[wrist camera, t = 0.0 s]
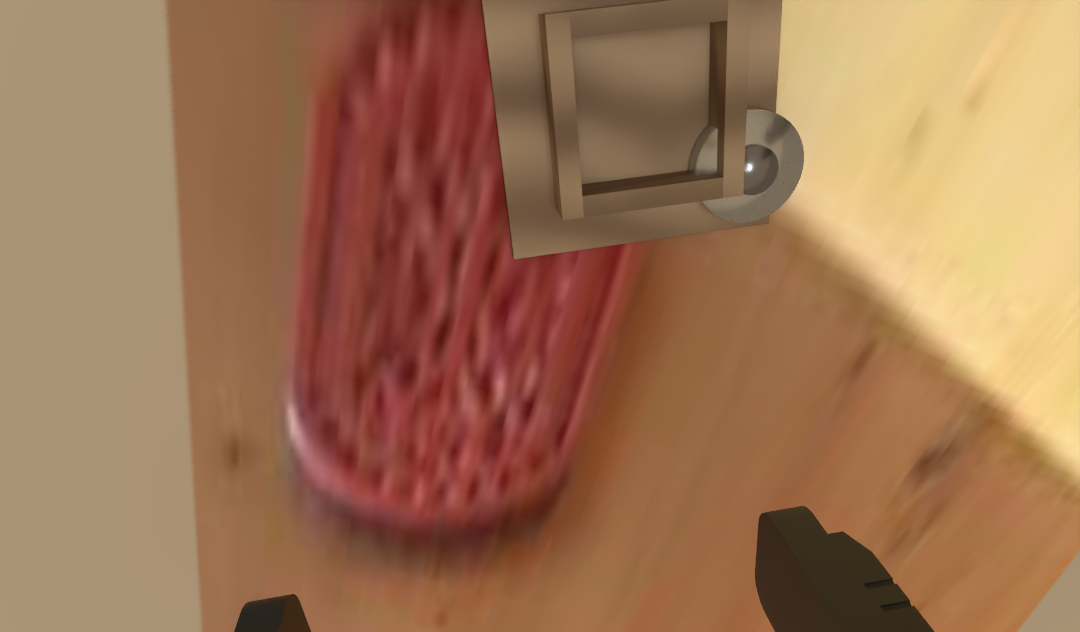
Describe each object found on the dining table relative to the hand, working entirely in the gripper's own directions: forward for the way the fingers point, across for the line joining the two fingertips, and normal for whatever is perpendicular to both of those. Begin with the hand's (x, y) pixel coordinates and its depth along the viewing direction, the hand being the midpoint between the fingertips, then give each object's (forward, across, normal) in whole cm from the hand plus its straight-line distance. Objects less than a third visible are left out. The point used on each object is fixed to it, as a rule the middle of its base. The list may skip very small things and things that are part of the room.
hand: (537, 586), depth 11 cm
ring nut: (+29, -16, +1) cm, 33 cm away
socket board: (+29, -10, -3) cm, 31 cm away
